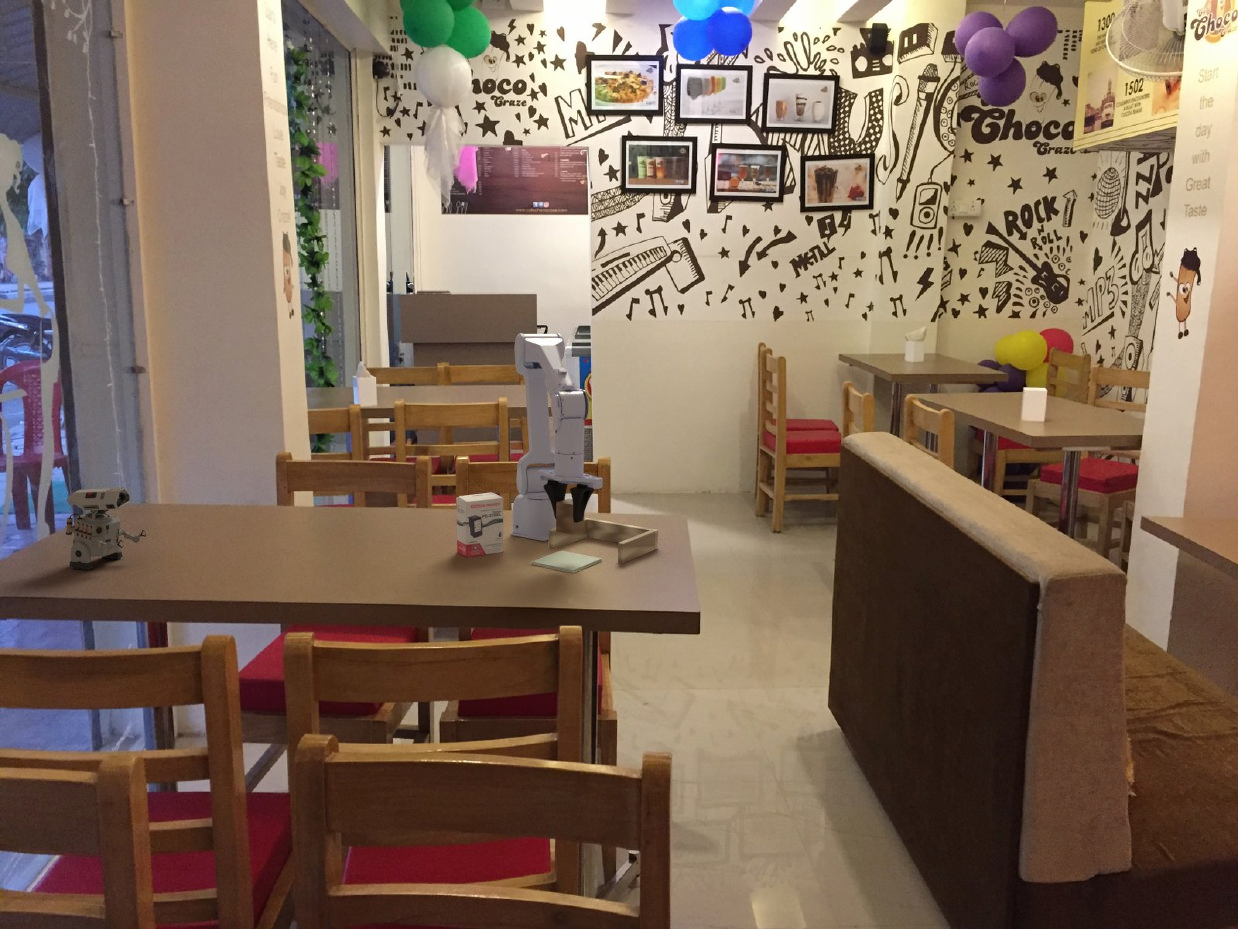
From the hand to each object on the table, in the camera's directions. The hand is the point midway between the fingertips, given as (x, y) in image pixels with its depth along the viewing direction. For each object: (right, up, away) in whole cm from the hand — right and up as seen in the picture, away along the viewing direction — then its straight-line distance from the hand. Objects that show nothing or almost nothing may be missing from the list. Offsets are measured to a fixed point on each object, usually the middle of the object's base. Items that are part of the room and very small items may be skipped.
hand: (568, 519), depth 198 cm
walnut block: (0, -2, +1) cm, 2 cm away
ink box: (-19, -7, +8) cm, 22 cm away
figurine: (-89, -9, -5) cm, 89 cm away
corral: (+7, -7, +12) cm, 15 cm away
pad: (0, -9, +1) cm, 9 cm away
